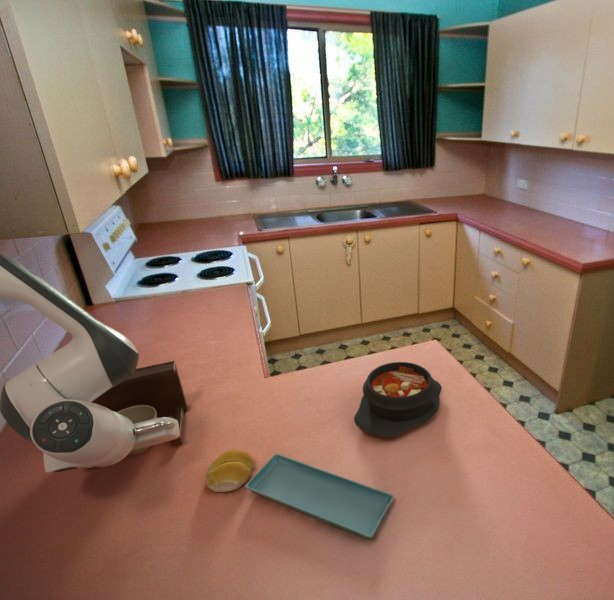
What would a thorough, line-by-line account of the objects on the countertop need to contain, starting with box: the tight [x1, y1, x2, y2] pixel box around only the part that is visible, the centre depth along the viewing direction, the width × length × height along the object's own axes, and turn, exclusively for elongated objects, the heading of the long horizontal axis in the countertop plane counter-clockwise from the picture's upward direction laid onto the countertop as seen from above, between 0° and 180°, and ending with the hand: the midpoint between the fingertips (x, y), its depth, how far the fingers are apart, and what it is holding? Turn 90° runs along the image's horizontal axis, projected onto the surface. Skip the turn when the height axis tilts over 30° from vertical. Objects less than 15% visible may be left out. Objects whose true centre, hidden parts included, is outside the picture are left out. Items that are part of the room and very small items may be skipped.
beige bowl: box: [117, 405, 157, 456], centre depth 90 cm, size 10×10×7 cm
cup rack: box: [87, 360, 189, 470], centre depth 92 cm, size 14×19×13 cm
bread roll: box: [205, 449, 254, 493], centre depth 82 cm, size 8×9×4 cm
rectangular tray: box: [244, 453, 395, 540], centre depth 77 cm, size 26×9×2 cm, turn 66°
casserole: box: [353, 361, 442, 439], centre depth 99 cm, size 25×19×8 cm
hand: (129, 446), depth 85 cm, fingers closed, pressing on beige bowl
